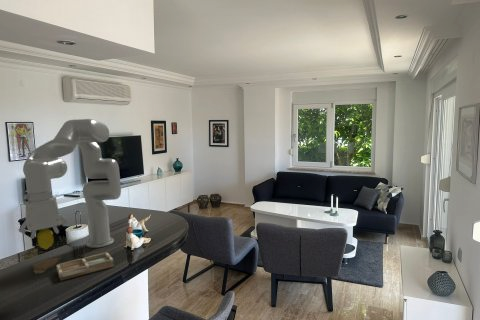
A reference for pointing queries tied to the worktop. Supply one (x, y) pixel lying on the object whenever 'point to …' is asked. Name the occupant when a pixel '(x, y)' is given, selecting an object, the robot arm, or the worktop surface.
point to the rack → (84, 265)
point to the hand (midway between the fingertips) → (46, 245)
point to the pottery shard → (45, 265)
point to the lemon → (45, 238)
